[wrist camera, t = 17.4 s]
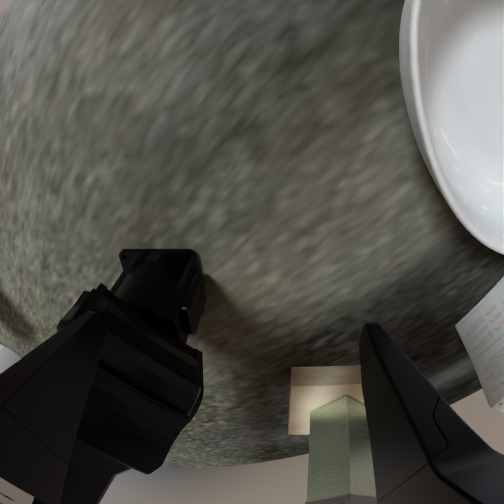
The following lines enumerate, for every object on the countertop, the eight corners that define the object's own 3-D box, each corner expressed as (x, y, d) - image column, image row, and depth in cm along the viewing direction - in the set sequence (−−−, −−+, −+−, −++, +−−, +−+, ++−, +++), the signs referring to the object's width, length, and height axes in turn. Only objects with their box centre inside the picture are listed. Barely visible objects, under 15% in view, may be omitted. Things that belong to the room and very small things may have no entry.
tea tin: (336, 424, 33) (336, 514, 23) (308, 411, 31) (304, 511, 21) (372, 408, 30) (379, 505, 20) (346, 394, 29) (350, 503, 19)
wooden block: (288, 415, 37) (288, 434, 35) (291, 363, 31) (291, 386, 28) (375, 410, 36) (378, 429, 33) (400, 357, 30) (406, 379, 27)
